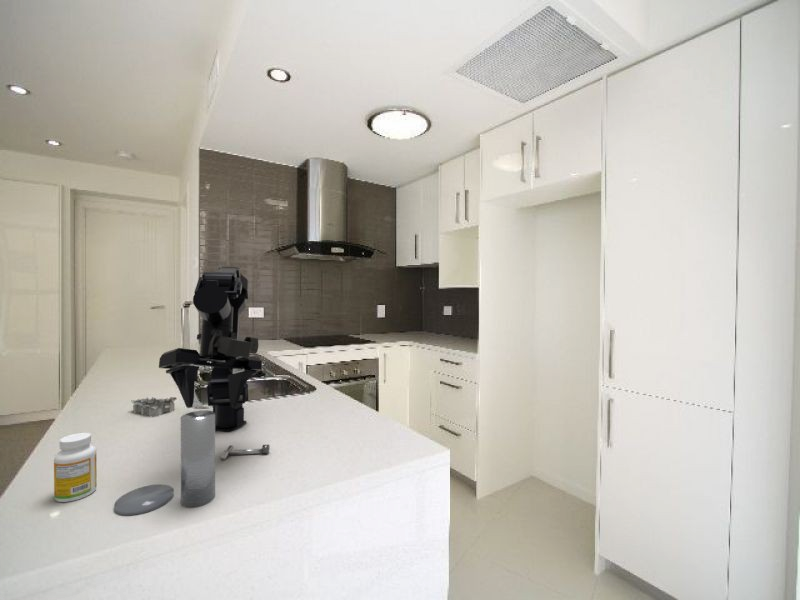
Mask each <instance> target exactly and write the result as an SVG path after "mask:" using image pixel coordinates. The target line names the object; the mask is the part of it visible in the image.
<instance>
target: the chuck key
mask: <svg viewBox="0 0 800 600" xmlns="http://www.w3.org/2000/svg"><path fill="white" fill-rule="evenodd" d="M269 453H270V444H263V445H262V447H261V448H248V449H247V448H246V449H234V446H233V445H231V444H230V445H229V446H228V447H227V449H225V450H224V451H223V454H222V455H221V456H220V460H221V461H225V460H226V459H227V458H228V456H238V455H241V456H242V455H243V456H244V455H245V456H246V455H261V454H262V455H267V454H269Z"/></svg>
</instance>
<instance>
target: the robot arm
mask: <svg viewBox="0 0 800 600" xmlns="http://www.w3.org/2000/svg"><path fill="white" fill-rule="evenodd" d="M193 294H194V295H193V296H192V302H193V305H194V307H195V309H196V311H197V312H198V314H199V315H200V318H202V319H201V330H200V331H201V332H200V333H198V334H197V335H196V340H198V341H200V343H199V344H200V345H199V347H200V348H199V351H198V350H197V349H190V348H181V347H177V348H174V349H172V350H169V351H165V352H163V354H161V356H160V357H159V362H158V368H159V369H163V370H165V369H166V370H165V373H166V374H170V376H171V378H172V379H173V381H174V383H175V384H176V386H177V388H178V390H179V393H180V395H181V397H182V400H183V403H184V405H185V406H186V408H187V409H190V408H193V405H194V398H195V383H196V375H197V374H198V371H199V369H200V367H208V368H212V370H211V373H210V380H208V381H207V384H206V385H207V387H206V393H207V406H208V407H211V406H212V411H213V412H215V431H222V432H233V431H234V430H236V429H238V428H241V426H243V425H246V424H247V420H245V408H244V406H243V404H246V402H249V398H250V397H249V393H250V392H249V383H247V382H248V380H250V378H251V377H252V376H254V375H256V374H257V373H258V372H261V371H263V361H262V360H261V359H260V358H259V357H255V356H254V357H253V356H250V355H251V354H254V355H255V354H257V353H258V349H259V338H257V337H251V336H246V337H245V338H244V340H243V339H239V335H240V333H239V332H240V315H241V314H242V312H243V311H244V310H245V309H246V307H247V300H249V297H250V286H249V280H248V279H247V278H246V277H245V276H244V275H243V274H242V273H241V268H240V267H238V266H221V267H220V266H219V267H218V270H217V271H203V272H202V274H201V276H199V277H198V280H197V284H196V286H195V288H194V293H193Z"/></svg>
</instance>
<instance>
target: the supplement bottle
mask: <svg viewBox="0 0 800 600" xmlns="http://www.w3.org/2000/svg"><path fill="white" fill-rule="evenodd" d="M91 443H92V434H91V432H80V433H79V432H78V433H72V434H69V435H66V436H64V437H62V438H60V439H59V450H60V451H58V452H57V453H56V454H55V456H54V458H53V491H54V500H55V501H56V502H58V503H69V502H73V501H77V500H81V499H84V498H86V497H88V496H90V495H91V494H93V493H94V492H95V490H96V489H97V481H98V479H97V476H98V475H97V449H96V447H95V446H94V445H92V444H91Z"/></svg>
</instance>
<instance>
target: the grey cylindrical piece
mask: <svg viewBox="0 0 800 600" xmlns="http://www.w3.org/2000/svg"><path fill="white" fill-rule="evenodd" d="M215 498H216V430H215V412H213V410H208V409H207V410H195V411H191V412H188V413H185V414H182V415H181V417H180V505H181V506H182V507H183V508H189V509H191V508H192V509H193V508H199V507H203V506H205V505H207V504H209V503H211V502H212V501H213V500H214V499H215Z"/></svg>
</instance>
